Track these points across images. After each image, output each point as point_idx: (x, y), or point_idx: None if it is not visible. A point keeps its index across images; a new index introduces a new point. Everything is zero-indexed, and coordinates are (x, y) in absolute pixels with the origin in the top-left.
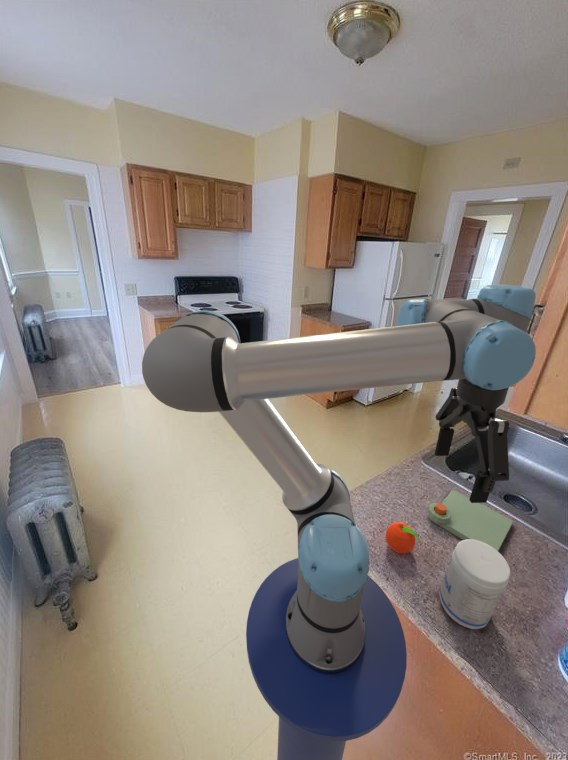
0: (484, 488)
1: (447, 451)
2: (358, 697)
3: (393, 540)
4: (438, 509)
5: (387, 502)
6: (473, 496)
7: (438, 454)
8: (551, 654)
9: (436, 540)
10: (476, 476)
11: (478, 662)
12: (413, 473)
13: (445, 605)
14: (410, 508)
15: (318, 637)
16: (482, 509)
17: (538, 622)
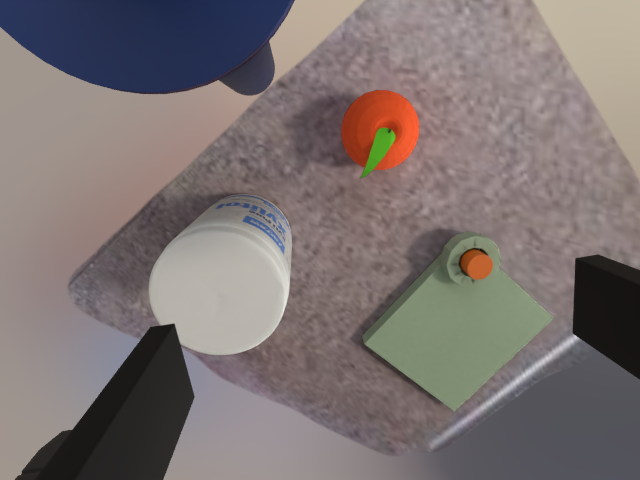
0: (37, 462)
1: (599, 339)
2: None
3: (358, 103)
4: (472, 257)
5: (518, 133)
6: (131, 353)
7: (584, 275)
8: (189, 351)
9: (399, 231)
10: (82, 468)
11: (146, 228)
12: (626, 234)
13: (225, 198)
14: (496, 193)
15: None
16: (486, 362)
17: (240, 356)
